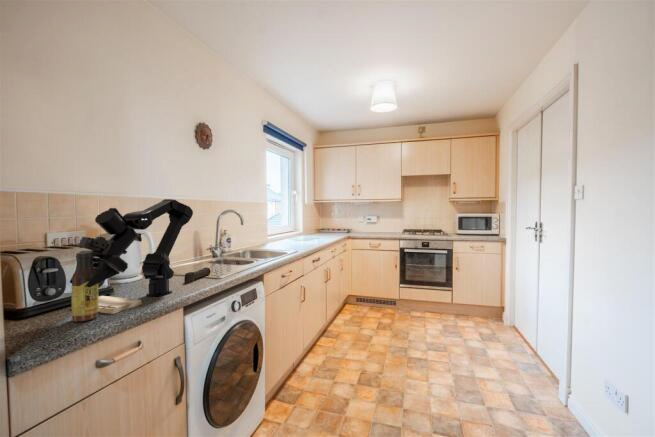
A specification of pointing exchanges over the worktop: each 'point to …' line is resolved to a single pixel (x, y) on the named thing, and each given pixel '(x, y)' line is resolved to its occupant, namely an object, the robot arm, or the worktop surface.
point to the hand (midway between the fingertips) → (79, 284)
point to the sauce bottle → (84, 289)
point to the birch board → (116, 304)
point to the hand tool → (196, 275)
